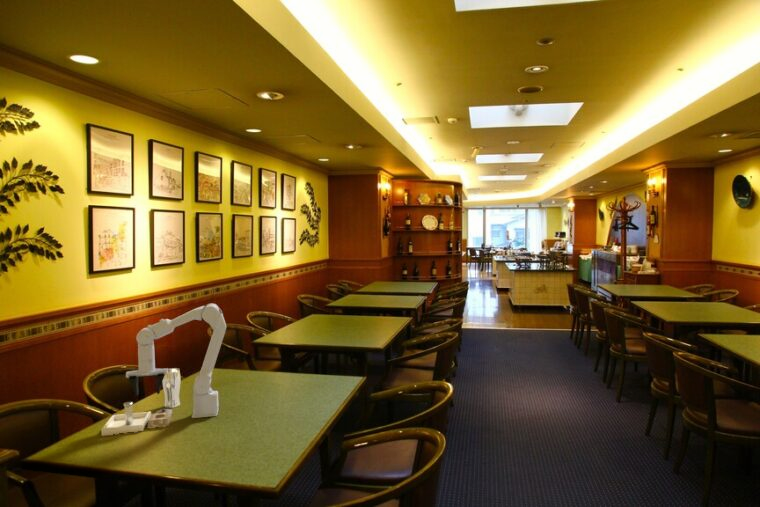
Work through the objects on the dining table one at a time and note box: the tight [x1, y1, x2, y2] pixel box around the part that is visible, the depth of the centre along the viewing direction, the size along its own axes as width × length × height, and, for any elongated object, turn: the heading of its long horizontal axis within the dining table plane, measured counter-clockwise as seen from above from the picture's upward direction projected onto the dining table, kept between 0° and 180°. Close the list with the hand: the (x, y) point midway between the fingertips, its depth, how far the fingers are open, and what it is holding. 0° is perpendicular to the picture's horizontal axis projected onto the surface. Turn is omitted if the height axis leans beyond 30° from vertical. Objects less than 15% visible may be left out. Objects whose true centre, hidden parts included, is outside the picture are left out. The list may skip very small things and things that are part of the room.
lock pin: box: [123, 401, 134, 425], centre depth 178 cm, size 3×3×8 cm
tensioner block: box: [147, 408, 173, 429], centre depth 183 cm, size 7×14×3 cm, turn 14°
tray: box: [100, 411, 152, 437], centre depth 178 cm, size 14×14×2 cm
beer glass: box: [162, 367, 181, 409], centre depth 199 cm, size 7×7×15 cm
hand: (147, 394), depth 183 cm, fingers open, 7 cm apart
